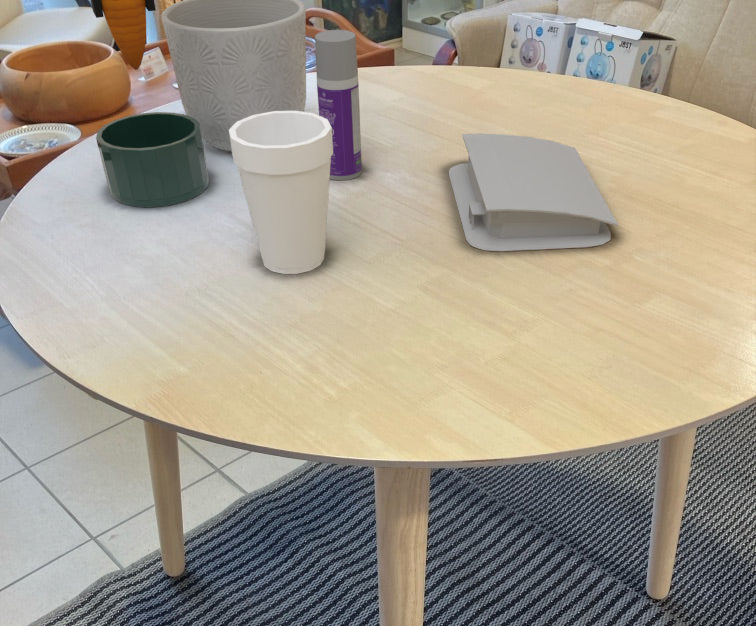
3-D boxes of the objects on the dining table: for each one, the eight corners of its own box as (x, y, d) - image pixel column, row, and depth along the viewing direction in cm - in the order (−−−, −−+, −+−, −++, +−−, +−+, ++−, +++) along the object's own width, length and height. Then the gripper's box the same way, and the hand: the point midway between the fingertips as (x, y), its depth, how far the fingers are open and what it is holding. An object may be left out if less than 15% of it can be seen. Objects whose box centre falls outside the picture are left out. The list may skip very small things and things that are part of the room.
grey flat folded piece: (469, 252, 88) (471, 216, 85) (446, 163, 104) (447, 131, 102) (618, 245, 88) (625, 209, 85) (571, 158, 104) (575, 125, 102)
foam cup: (241, 282, 84) (221, 149, 75) (252, 239, 91) (235, 112, 82) (337, 280, 84) (329, 146, 75) (341, 237, 91) (333, 109, 82)
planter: (163, 135, 113) (138, 6, 103) (276, 108, 120) (263, -16, 109) (219, 177, 103) (198, 38, 92) (339, 145, 109) (331, 11, 99)
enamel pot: (94, 205, 98) (79, 148, 94) (131, 165, 106) (118, 110, 102) (191, 209, 97) (180, 151, 92) (220, 168, 105) (212, 113, 101)
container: (318, 178, 102) (308, 40, 92) (329, 163, 105) (320, 28, 95) (356, 181, 101) (350, 42, 91) (366, 166, 104) (361, 30, 94)
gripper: (-48, -293, 68) (39, 31, 84) (172, -301, 72) (215, 9, 88) (-50, -293, 73) (33, 12, 89) (156, -301, 77) (200, -8, 93)
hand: (124, 10), depth 89 cm, fingers closed on carrot, 5 cm apart
